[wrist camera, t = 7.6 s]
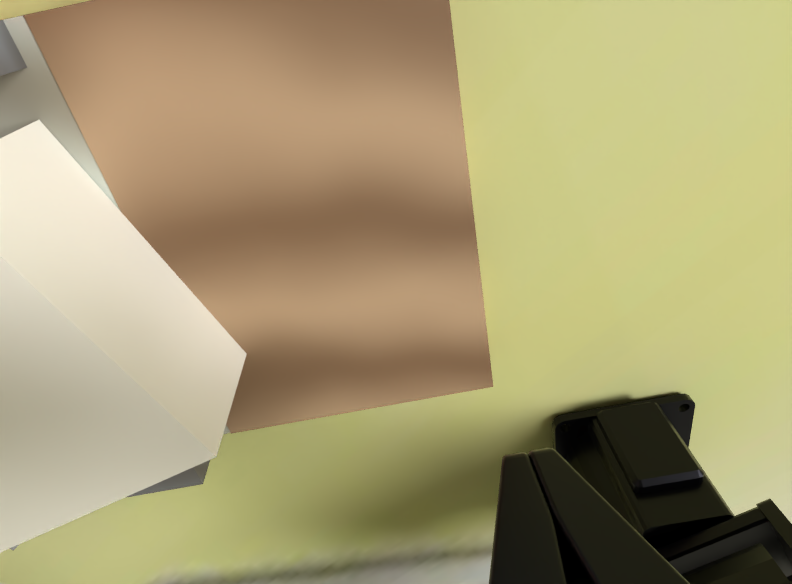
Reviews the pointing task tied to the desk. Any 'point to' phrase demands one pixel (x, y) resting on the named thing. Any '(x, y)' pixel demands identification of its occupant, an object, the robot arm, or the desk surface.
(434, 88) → the display board
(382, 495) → the desk surface
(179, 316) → the carton
